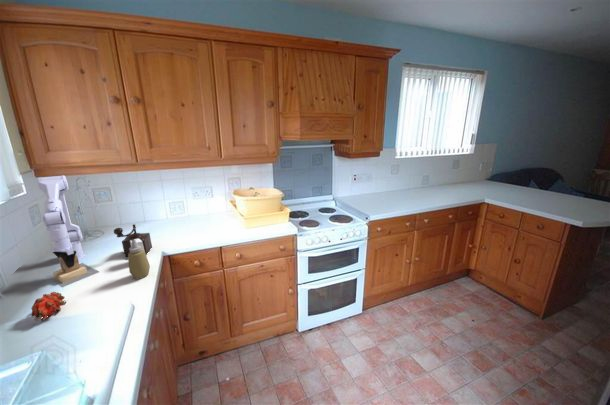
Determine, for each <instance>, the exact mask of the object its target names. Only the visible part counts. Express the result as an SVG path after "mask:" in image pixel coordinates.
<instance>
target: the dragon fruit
mask: <svg viewBox="0 0 610 405" xmlns="http://www.w3.org/2000/svg"><path fill="white" fill-rule="evenodd" d="M65 299H66V298H65V296H64V295H62V293H60V292H56V291H52V292H50V293H47V294H46V293H45V294H42V297H40V298H39V297H38V298H36V299H35V301H34V302H33V305H32V307H31V315H32V317H34V318H37V319H40V321H43V320H46V319H49V318H50V317H51V316H52V315H53V314H59V313H60V312H61V311H62V306H64V305H66V304H67V300H65ZM49 315H50V316H49ZM47 316H48V317H47ZM41 317H43V318H42V319H41Z"/></svg>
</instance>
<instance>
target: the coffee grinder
mask: <svg viewBox="0 0 610 405" xmlns="http://www.w3.org/2000/svg"><path fill="white" fill-rule="evenodd" d="M123 232H124V230H123V228H122V227H117V228H114V229H113V234H114V235H116V238H124V239H123V240H122V241H121V244H122V250H123V253H124V257H125V258H128V254H129V253H130V250H129V248H131V244H130V241H131V240H134V239H138V238H139V239H140V240H141V241H142V243H143V247H144V251H145V253H146V256H147V255H148V254H149V253H150V252H151V250H152V249H153V245H152V238H151V235H150V232H141V233H140V232H137V226H136V224H132V229H131V231H130V232H129V233H127V234H124V233H123ZM151 248H152V249H151ZM150 249H151V250H150ZM148 252H149V253H148ZM147 253H148V254H147Z"/></svg>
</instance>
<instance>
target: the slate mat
mask: <svg viewBox="0 0 610 405" xmlns="http://www.w3.org/2000/svg"><path fill="white" fill-rule="evenodd" d="M79 264H80V265H82V266H84V267H85V268H86V269H87V273H88V274H85V275H83V276H80V277H78V278H75V279H73V280H70V281H68V282H65V283H62V282H61V281H59V280H57V279H56V278H55V277H54V273H52V274H49V275H46V278H48V279H49V280H50V281H52V282H53V283H55V284H57V285H58V286H60V287H61V288H64V287H67V286H69V285H72V284H74V283H77V282H78V281H81V280H84V279H86V278H88V277H91V276H94V275H97V274H99V273H100V271H99V270H97V269H95V268H93V267H91V266H89V265H87V264H86V263H83V262H82V263H79Z"/></svg>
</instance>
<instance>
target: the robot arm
mask: <svg viewBox="0 0 610 405" xmlns="http://www.w3.org/2000/svg"><path fill="white" fill-rule="evenodd" d="M37 185H38V188H39V190H40V191H41V192H43V193H44V194H45V195H46V197H47V198H46V199H47V200H45V201H44V205H43V206H44V214H42V221H43V224H44V226H45V228H46V230H47V231H48V233H49V237H50V239H51V242H52V246H53V248H52V249H50V252H51V253H52V254H54V255H55V256H56V257H57V258H58V259H59V257H61V258H62V259H63V260H64V262H65V264H66V266H67V267H68V268H70V267H73V266H74V259H75V255H76V256H77V257H78V260H80V259H83V258H87V257H88V254H85V253H84V251H83V247H82V244H81V241H83V233H82V230H81V228H80V226H79V225H78V224H77V225H76V224H74V223H72V221H71V217H70V213H69V209H68V204H67V201H66V197H65V195H66V193H67V192H69V190H70V188H69V184H68V180H67V177H66V175H64V174H63V175H58V176H57V175H56V176H44V177H41V176H40V177H38V178H37Z"/></svg>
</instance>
